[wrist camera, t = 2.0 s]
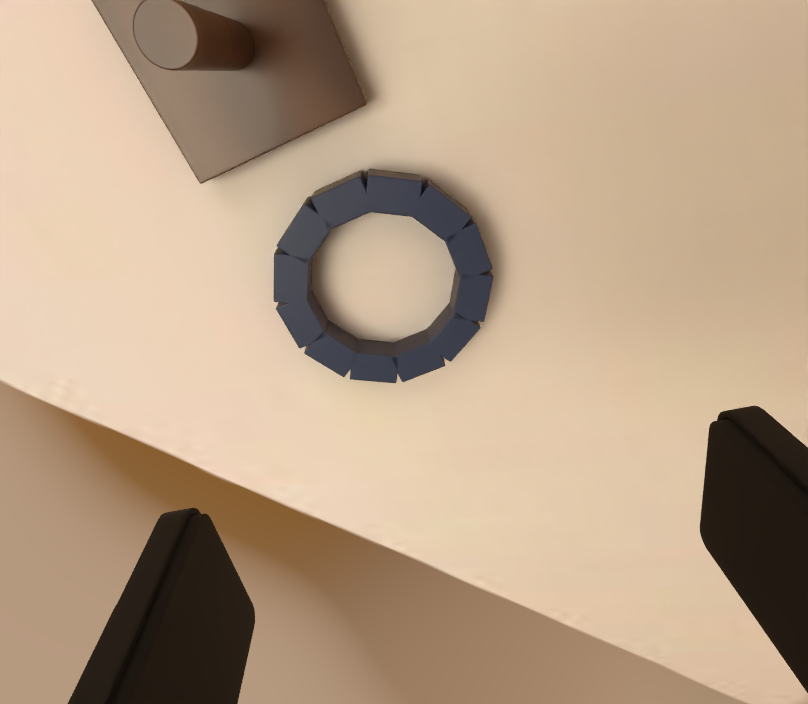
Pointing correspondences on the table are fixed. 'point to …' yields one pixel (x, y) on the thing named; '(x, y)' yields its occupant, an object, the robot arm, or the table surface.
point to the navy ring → (397, 199)
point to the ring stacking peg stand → (235, 72)
